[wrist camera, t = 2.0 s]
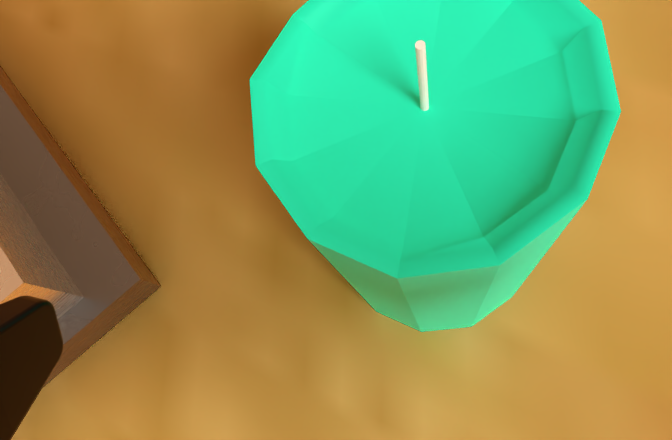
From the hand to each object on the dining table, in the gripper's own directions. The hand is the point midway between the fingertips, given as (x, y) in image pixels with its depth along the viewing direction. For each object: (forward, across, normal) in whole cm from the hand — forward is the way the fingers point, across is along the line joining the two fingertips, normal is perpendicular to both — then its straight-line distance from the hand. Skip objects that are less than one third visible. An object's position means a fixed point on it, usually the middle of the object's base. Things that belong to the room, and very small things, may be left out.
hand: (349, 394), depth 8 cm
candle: (+12, 0, +5) cm, 13 cm away
